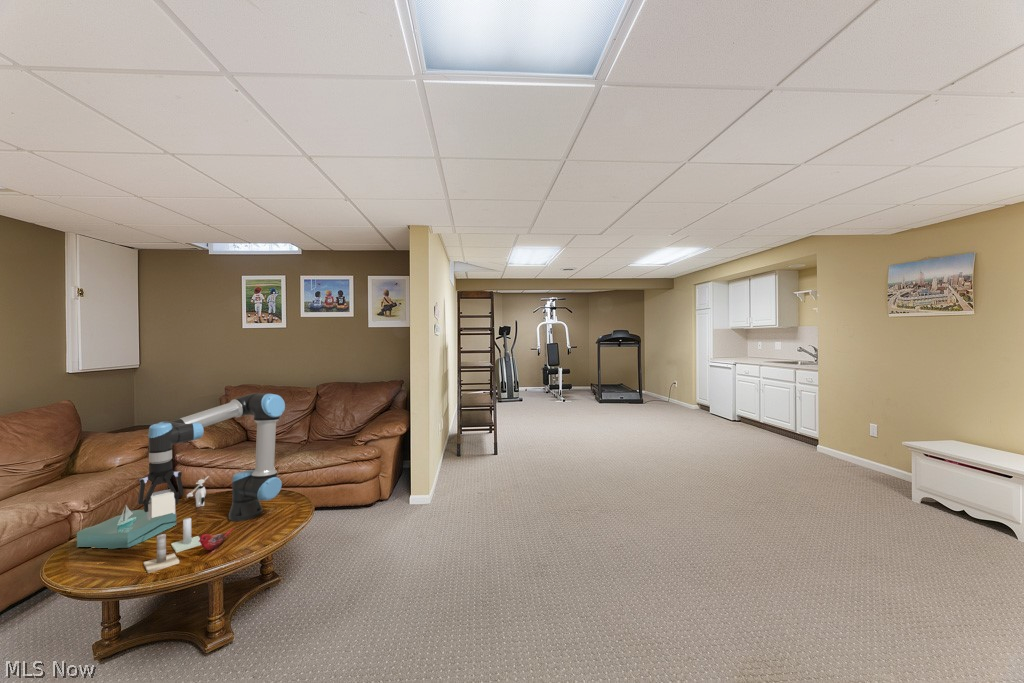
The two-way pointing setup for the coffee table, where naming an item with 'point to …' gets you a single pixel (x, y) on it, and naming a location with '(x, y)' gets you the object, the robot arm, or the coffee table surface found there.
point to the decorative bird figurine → (212, 540)
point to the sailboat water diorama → (124, 530)
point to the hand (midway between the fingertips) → (161, 515)
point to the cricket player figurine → (199, 493)
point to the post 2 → (186, 538)
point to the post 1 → (161, 557)
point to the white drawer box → (162, 503)
